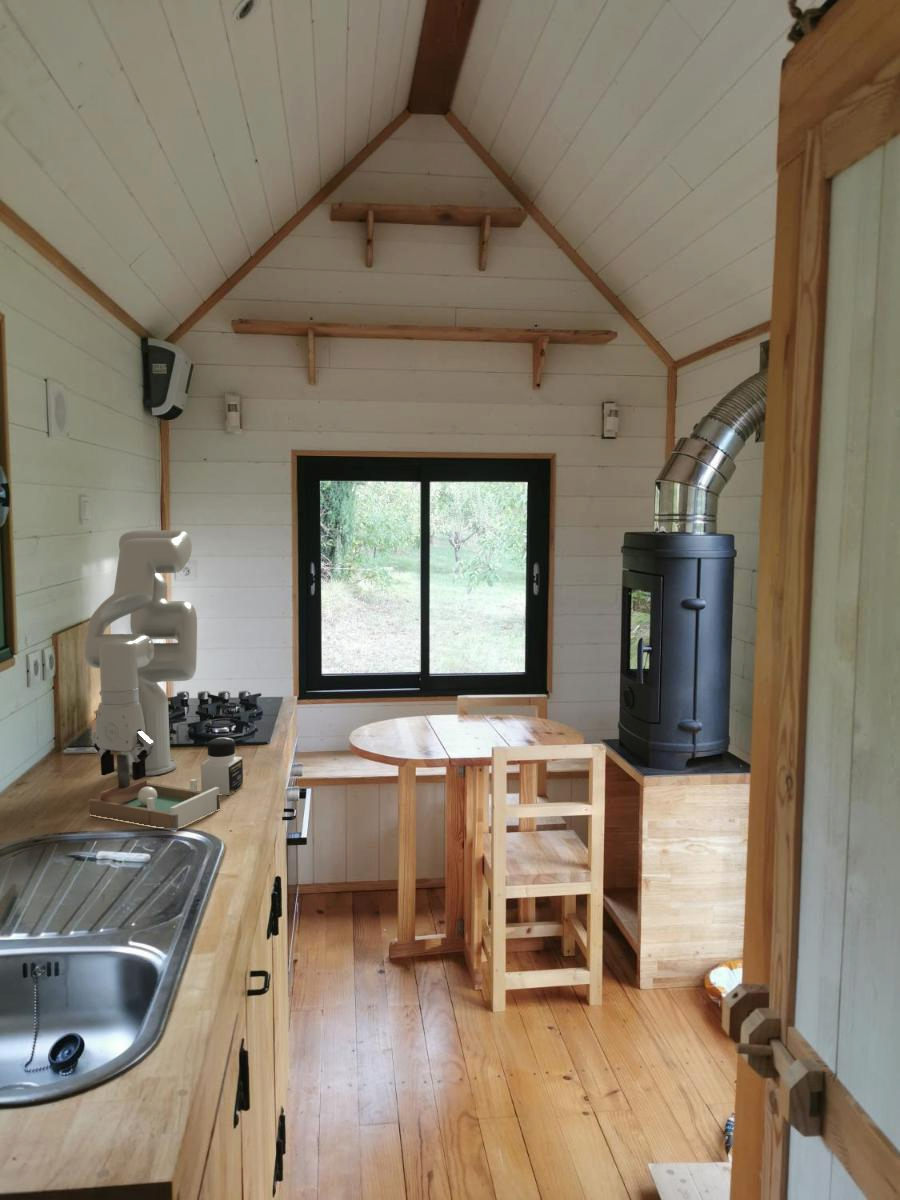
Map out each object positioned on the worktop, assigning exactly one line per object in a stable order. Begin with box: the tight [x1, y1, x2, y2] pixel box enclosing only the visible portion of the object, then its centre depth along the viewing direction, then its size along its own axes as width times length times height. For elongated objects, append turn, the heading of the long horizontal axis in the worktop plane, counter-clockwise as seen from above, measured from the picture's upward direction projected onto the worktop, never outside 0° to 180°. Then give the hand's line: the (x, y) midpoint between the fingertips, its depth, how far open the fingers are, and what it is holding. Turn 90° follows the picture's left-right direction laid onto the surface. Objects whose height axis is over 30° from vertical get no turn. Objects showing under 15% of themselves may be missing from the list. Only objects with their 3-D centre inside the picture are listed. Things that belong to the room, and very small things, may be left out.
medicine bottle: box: [200, 737, 244, 796], centre depth 200 cm, size 7×7×12 cm
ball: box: [138, 787, 157, 806], centre depth 186 cm, size 4×4×4 cm
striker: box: [100, 752, 148, 804], centre depth 189 cm, size 3×10×10 cm, turn 156°
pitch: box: [88, 778, 221, 828], centre depth 186 cm, size 23×14×6 cm, turn 66°
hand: (123, 775), depth 189 cm, fingers open, 8 cm apart
